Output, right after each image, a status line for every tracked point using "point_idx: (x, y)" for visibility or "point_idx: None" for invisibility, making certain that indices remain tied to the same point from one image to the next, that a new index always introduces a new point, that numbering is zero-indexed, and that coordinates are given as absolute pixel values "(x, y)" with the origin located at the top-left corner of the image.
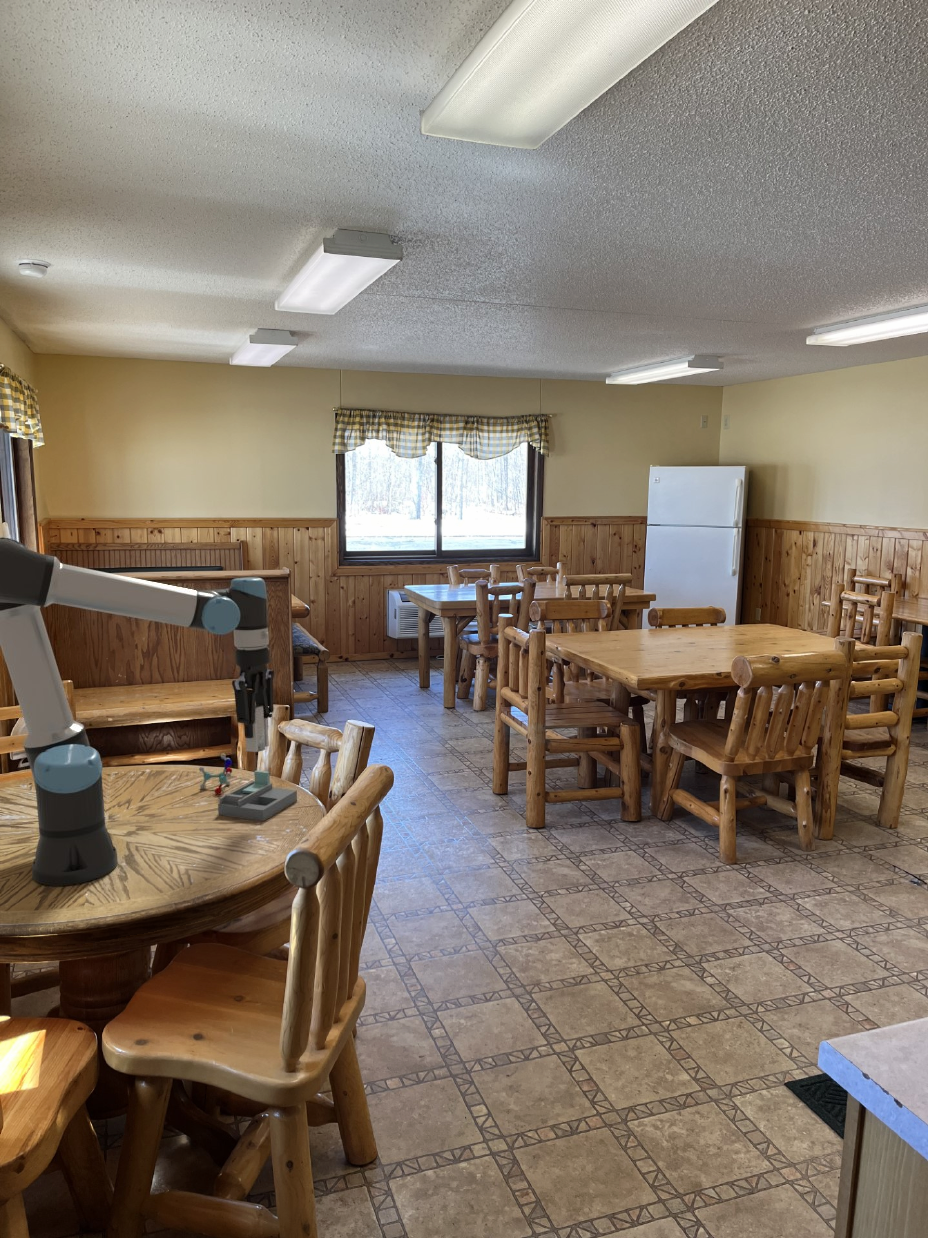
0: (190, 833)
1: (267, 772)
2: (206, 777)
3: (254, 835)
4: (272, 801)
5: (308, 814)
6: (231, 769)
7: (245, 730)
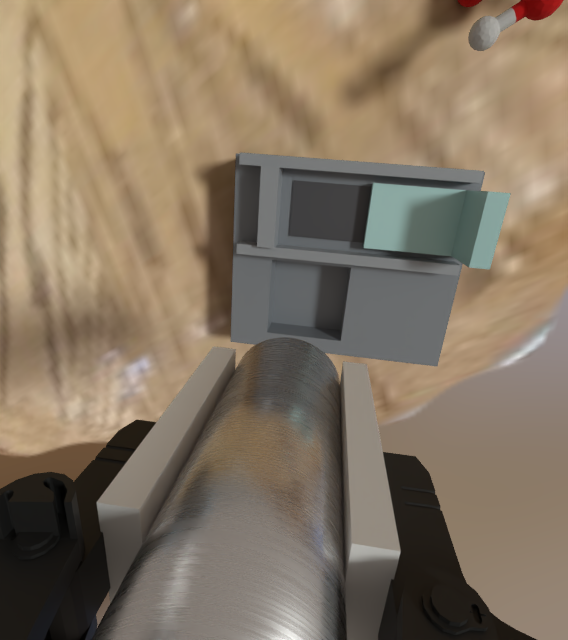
0: (83, 161)
1: (478, 265)
2: None
3: (145, 350)
4: (343, 315)
5: None
6: (549, 10)
7: (89, 477)
